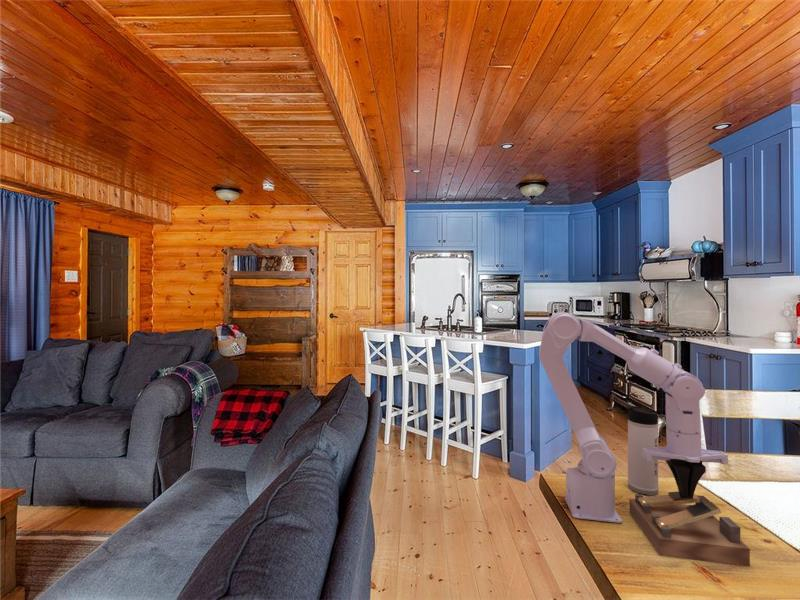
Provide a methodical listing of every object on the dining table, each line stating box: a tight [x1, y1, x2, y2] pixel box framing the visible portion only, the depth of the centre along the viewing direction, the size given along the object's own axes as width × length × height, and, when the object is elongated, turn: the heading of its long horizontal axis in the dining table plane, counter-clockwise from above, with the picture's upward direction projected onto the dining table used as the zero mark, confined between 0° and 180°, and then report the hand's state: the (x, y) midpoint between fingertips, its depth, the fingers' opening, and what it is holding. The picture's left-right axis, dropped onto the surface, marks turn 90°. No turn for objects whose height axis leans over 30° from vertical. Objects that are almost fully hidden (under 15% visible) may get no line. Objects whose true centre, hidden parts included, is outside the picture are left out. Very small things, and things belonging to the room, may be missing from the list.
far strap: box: [638, 491, 700, 507], centre depth 78 cm, size 10×3×1 cm, turn 78°
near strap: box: [655, 501, 722, 529], centre depth 70 cm, size 10×3×1 cm, turn 78°
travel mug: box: [626, 405, 659, 496], centre depth 93 cm, size 6×7×20 cm
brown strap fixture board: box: [628, 493, 751, 567], centre depth 74 cm, size 14×14×6 cm
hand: (685, 496), depth 78 cm, fingers closed, pressing on far strap
